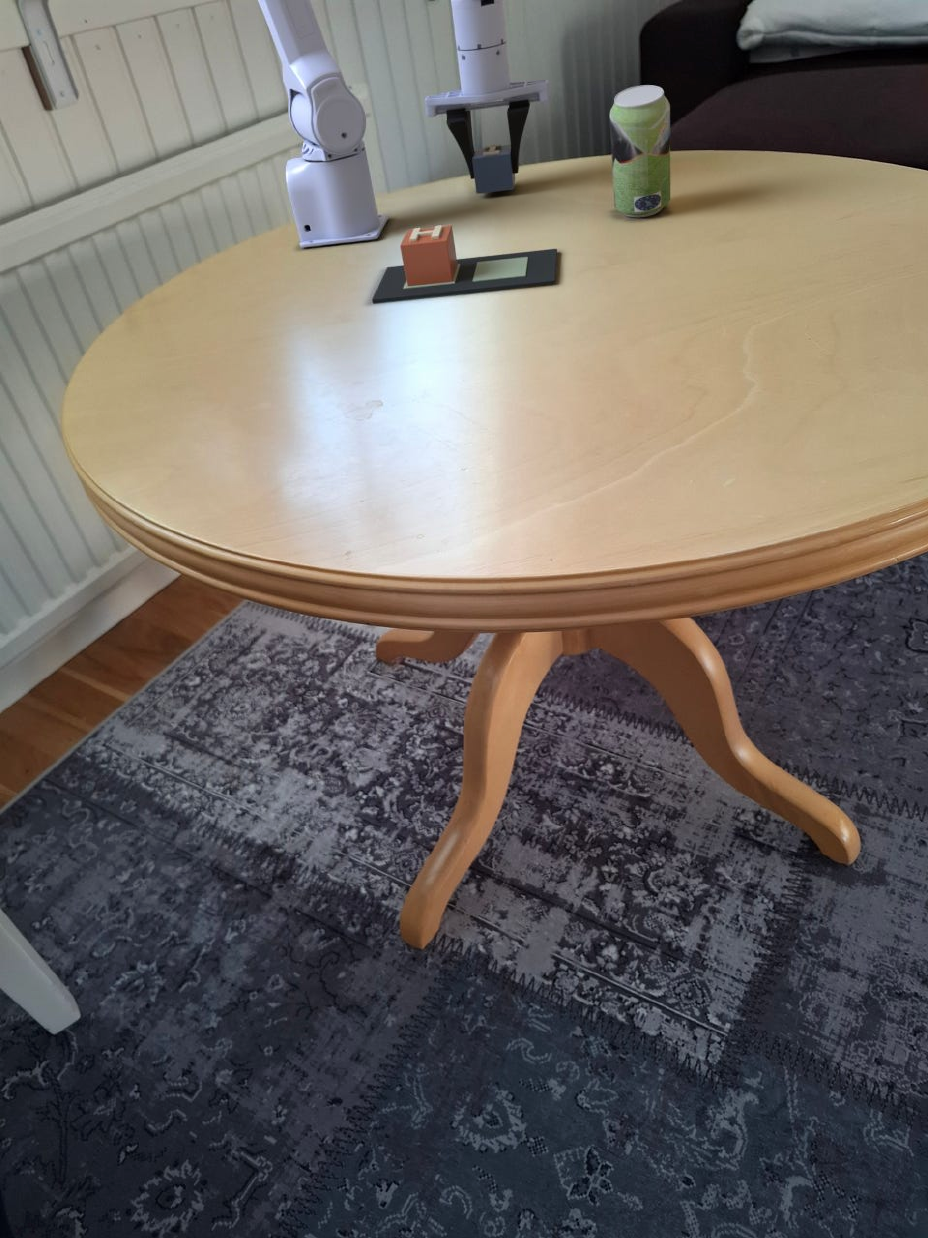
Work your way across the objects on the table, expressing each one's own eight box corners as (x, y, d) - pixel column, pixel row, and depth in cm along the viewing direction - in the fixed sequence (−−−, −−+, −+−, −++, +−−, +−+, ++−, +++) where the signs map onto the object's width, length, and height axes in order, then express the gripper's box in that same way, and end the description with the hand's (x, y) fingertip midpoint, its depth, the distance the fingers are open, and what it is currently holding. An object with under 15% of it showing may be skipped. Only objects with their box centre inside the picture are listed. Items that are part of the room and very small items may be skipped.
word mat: (372, 303, 88) (371, 298, 87) (387, 270, 94) (386, 265, 94) (555, 284, 85) (554, 279, 84) (557, 252, 91) (556, 247, 91)
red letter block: (407, 286, 88) (399, 242, 86) (414, 269, 92) (406, 226, 89) (452, 281, 88) (446, 236, 85) (457, 265, 91) (451, 221, 88)
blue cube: (476, 193, 109) (471, 155, 106) (479, 183, 113) (475, 145, 110) (513, 189, 108) (509, 150, 106) (515, 178, 112) (512, 141, 109)
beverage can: (668, 199, 99) (669, 76, 91) (673, 220, 94) (675, 91, 86) (611, 206, 100) (607, 85, 92) (613, 227, 95) (609, 100, 87)
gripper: (546, 30, 103) (554, 157, 111) (424, 48, 105) (441, 171, 114) (544, 40, 97) (553, 173, 106) (415, 58, 100) (434, 187, 109)
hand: (495, 173), depth 110 cm, fingers closed on blue cube, 4 cm apart
